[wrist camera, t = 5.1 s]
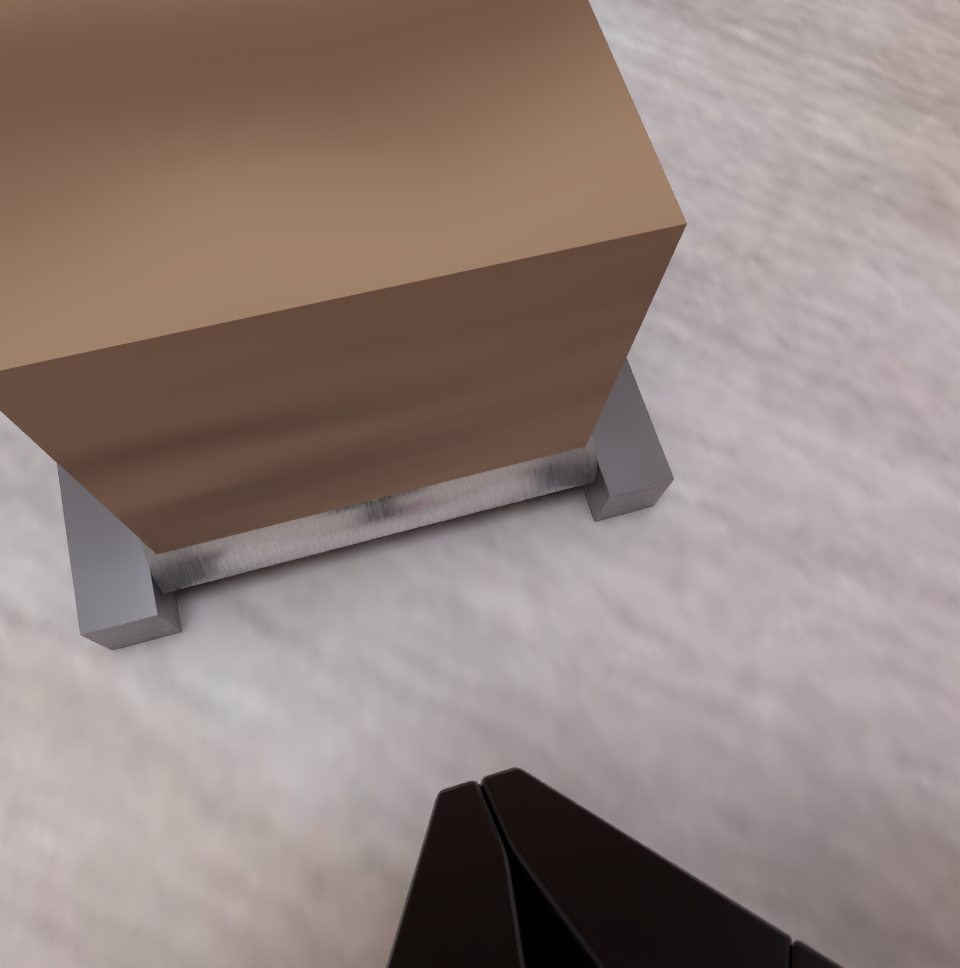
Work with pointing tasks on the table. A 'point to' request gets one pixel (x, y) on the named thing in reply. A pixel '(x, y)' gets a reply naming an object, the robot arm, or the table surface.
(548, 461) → the roller bed
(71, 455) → the brown cardboard box
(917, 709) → the table surface
